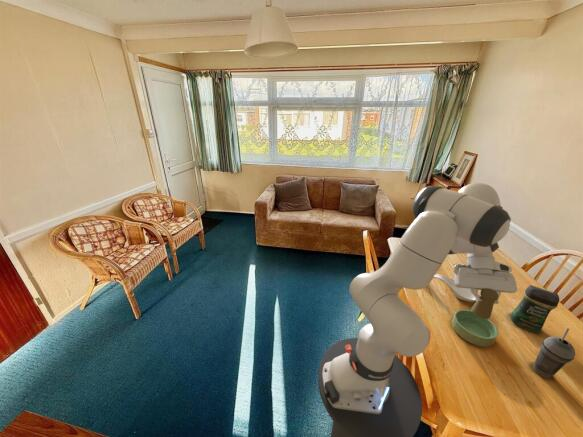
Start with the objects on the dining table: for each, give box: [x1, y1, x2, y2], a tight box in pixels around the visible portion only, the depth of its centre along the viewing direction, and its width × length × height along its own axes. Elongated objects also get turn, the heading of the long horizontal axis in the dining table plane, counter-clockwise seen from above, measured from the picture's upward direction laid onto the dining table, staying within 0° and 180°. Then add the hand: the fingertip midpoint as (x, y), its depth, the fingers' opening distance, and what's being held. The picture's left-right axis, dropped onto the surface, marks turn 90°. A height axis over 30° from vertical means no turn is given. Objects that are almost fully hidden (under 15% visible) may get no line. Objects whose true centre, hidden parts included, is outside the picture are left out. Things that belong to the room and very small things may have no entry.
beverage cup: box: [532, 327, 576, 379], centre depth 76 cm, size 7×7×20 cm
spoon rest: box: [433, 273, 480, 303], centre depth 114 cm, size 24×12×7 cm, turn 55°
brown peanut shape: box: [470, 288, 500, 320], centre depth 87 cm, size 6×6×11 cm
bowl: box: [451, 309, 499, 348], centre depth 93 cm, size 14×14×5 cm
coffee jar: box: [510, 284, 560, 333], centre depth 94 cm, size 10×8×19 cm
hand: (487, 302), depth 86 cm, fingers closed on brown peanut shape, 4 cm apart
